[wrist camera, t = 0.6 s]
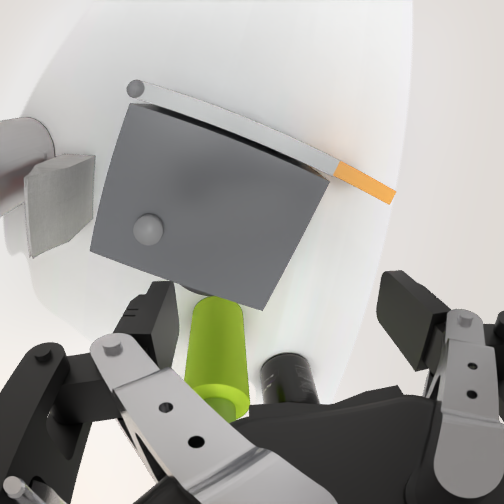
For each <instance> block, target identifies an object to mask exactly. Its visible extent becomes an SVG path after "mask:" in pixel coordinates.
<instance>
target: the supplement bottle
mask: <svg viewBox="0 0 504 504" xmlns="http://www.w3.org/2000/svg"><path fill="white" fill-rule="evenodd" d="M261 384H262V393H263V401H264V404H273V403H285V402H293V403H306V404H320V402H319V399H318V395H317V391H316V388H315V384H314V380H313V377H312V373H311V370H310V366H309V364H308V362H307V361H306V360H305V359H304V358H303V357H301V356H298V355H295V354H283V355H279V356H276V357H273V358H272V359H270V360H269V361H267V362H266V363H265V364H264V366H263V367H262V370H261Z"/></svg>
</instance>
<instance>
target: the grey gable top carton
mask: <svg viewBox="0 0 504 504" xmlns="http://www.w3.org/2000/svg"><path fill="white" fill-rule="evenodd" d="M94 167H95V156H90V155H76V154H63V155H60V156H57V157H55V158H52V159H50V160H47V161H44V162H42V163H39V164H37V165H35V166H34V168H33V169H32V171H31V172H30V173H29V174H28V175H26V176H25V177H24V198H25V216H26V229H27V239H28V248H29V256H30V257H31V255H32V257H33V258H34V257H36V256H38V255H39V254H41V253H43V252H45V251H47V250H50V249H52V248H54V247H57V246H59V245H61V244H64V243H66V242H69V241H70V240H71V239H72V238H73V237H74V236H75V235H76V234H77V233H78V232H79V231H80V230H81V229H83V228H84V227H85V226H86V225H87V224H88V223H89V222H90V221H91V220H92V219H93V186H94Z"/></svg>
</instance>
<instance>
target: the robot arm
mask: <svg viewBox="0 0 504 504" xmlns="http://www.w3.org/2000/svg"><path fill="white" fill-rule="evenodd" d="M52 158H55V156H54V147H53V142H52V140H51V137H50V134H49V133H48V131H47V130H46V128H45V127H44V126H43V125H42V124H41V123H40V122H39V121H37V120H35V119H33V118H29V117H21V118H15V119H9V120H3V121H0V217H2V216H3V215H5V214H6V213H8V212H10V211H11V210H13V209H14V208H16V207H18V206H19V205H21V204H23V203H24V202H25V198H24V177H25V176H26V175H28V174H29V173H30V172H31V171H32V169H33V168H34V166H35V165H37V164H39V163H42V162H44V161H47V160H50V159H52ZM376 312H377V318H378V321H379V323H380V324H381V325H382V327H383V328H384V329H385V331H386V332H387V333H388V335H389V336H390V337H391V339H392V340H393V341H394V343H395V344H396V345H397V347H398V348H399V349H400V351H401V352H402V354H403V355H404V356H405V358H406V359H407V361H408V362H409V363H410V365H411V366H412V367H413V369H414V370H415V372H416V371H420V370H424V369H428V368H429V373H428V375H427V378H426V383H425V387H424V392H423V396H416V395H403V393H402V392H401V390H400V388H399V387H398V385H396V386H391V387H386V388H382V389H376V390H371V391H366V392H363V393H361V394H358V395H356V396H353V397H351V398H348V399H345V400H343V401H340V402H337V403H335V404H330V405H323V404H306V403H293V402H285V403H273V404H259V405H249V417H245V418H241V419H239V420H236V421H233V422H231V423H228V422H227V421H225V420H224V419H223V418H222V417H221V416H220V415H219V414H218V413H217V412H216V411H215V410H213V409H212V408H211V407H210V406H209V405H208V404H207V403H206V402H205V401H204V400H203V399H202V398H201V397H200V396H199V395H198V394H197V393H196V392H195V391H194V390H193V389H192V388H191V387H190V386H189V385H188V384H187V383H186V382H185V381H184V380H183V379H182V378H181V377H180V376H179V375H178V374H177V373H176V372H175V371H174V370H173V369H172V368H171V366H172V362H173V357H174V353H175V348H176V344H177V340H178V336H179V317H178V310H177V303H176V295H175V287H174V283H173V281H154V282H152V284H151V286H150V288H149V290H148V292H147V294H144V295H138V296H137V297H136V298H134V299H133V300H132V301H130V303H129V305H128V307H127V308H126V310H125V312H124V314H123V317H121V319H120V321H119V323H118V325H117V326H116V328H115V330H114V332H113V333H112V334H108V335H105V336H102V337H100V338H98V339H97V340H95V341H94V342H93V343H92V345H91V347H90V353H86V354H80V355H74V356H66V353H65V351H64V348H63V347H62V346H61V345H60V344H58V343H43V344H40V345H37V346H35V347H33V348H32V349H30V350H29V351H28V352H27V353H26V354H25V356H24V357H23V359H22V360H21V362H20V363H19V365H18V366H17V368H16V369H15V371H14V372H13V374H12V375H11V377H10V378H9V380H8V381H7V383H6V385H5V386H4V388H3V389H2V391H1V393H0V504H70V503H71V499H72V494H73V490H74V486H75V482H76V478H77V474H78V470H79V467H80V463H81V459H82V455H83V452H84V449H85V445H86V442H87V438H88V435H89V431H90V428H91V425H92V422H95V421H102V420H109V419H115V418H116V420H117V422H118V424H119V425H120V427H121V429H122V430H123V432H124V434H125V435H126V437H127V438H128V440H129V442H130V443H131V445H132V446H133V448H134V449H135V451H136V452H137V454H138V455H139V457H140V458H141V460H142V462H143V463H144V465H145V466H146V468H147V470H148V472H149V473H150V475H151V476H152V478H153V479H154V481H155V482H156V485H155V486H153V487H152V488H151V489H150V490H149V491H148V492H146V493H145V494H144V495H143V496H142V497H140V498H139V499H138V500H137V501H136V502H134V503H133V504H504V424H502V423H500V421H499V416H500V417H501V418H502V420H503V421H504V311H502V312H500V313H499V314H498V317H497V320H496V323H495V324H483V322H482V320H481V318H480V317H479V316H478V315H477V314H475V313H473V312H471V311H468V310H464V309H454V310H451V309H450V308H449V307H448V306H446V305H445V304H444V303H443V302H442V301H441V300H439V299H438V298H436V296H435V295H434V294H433V293H431V292H430V291H429V290H428V289H427V288H426V287H424V286H423V285H421V284H419V283H417V282H415V281H414V280H413V279H412V278H411V277H410V276H408V275H407V274H406V273H405V272H404V271H402V270H398V271H385V272H384V273H383V274H382V277H381V283H380V290H379V296H378V302H377V311H376ZM49 412H50V413H49ZM48 414H49V415H48ZM47 416H48V418H47Z"/></svg>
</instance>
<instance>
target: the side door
mask: <svg viewBox="0 0 504 504" xmlns="http://www.w3.org/2000/svg"><path fill="white" fill-rule="evenodd" d="M127 93H128V95H129V96H130V97H132V98H135V99H139V100H142V101H145V102H148V103H151V104H155V105H158V106H161V107H164V108H167V109H170V110H173V111H176V112H179V113H182V114H184V115H187V116H190V117H193V118H196V119H199V120H201V121H204V122H207V123H209V124H212V125H215V126H217V127H220V128H223V129H225V130H228V131H230V132H233V133H235V134H238V135H240V136H243V137H245V138H248V139H250V140H253V141H255V142H258V143H260V144H262V145H265V146H267V147H269V148H272V149H274V150H276V151H279V152H281V153H283V154H285V155H288V156H290V157H292V158H294V159H297V160H299V161H301V162H303V163H305V164H307V165H310V166H312V167H314V168H316V169H318V170H320V171H322V172H324V173H326V174H328V175H330V176H335V177H337V178H339V179H341V180H343V181H345V182H347V183H349V184H351V185H353V186H355V187H357V188H359V189H361V190H363V191H365V192H366V193H368V194H370V195H372V196H374V197H376V198H378V199H380V200H381V201H383V202H385V203H387V204H389V205H390V203H391V201H392V199H393V197H394V195H395V193H396V191H394V190H393V189H391V188H389V187H387V186H386V185H384V184H382V183H380V182H379V181H377V180H375V179H373V178H372V177H370V176H368V175H366V174H364V173H362V172H361V171H359V170H357V169H355V168H353V167H351V166H349V165H347V164H346V163H344V162H342V161H340V160H338V159H336V158H334V157H332V156H330V155H328V154H326V153H324V152H322V151H320V150H318V149H316V148H314V147H312V146H310V145H308V144H305V143H303V142H301V141H299V140H297V139H295V138H293V137H290V136H288V135H286V134H284V133H281V132H279V131H277V130H275V129H272V128H270V127H268V126H265V125H263V124H261V123H258V122H256V121H254V120H251V119H249V118H246V117H244V116H241V115H239V114H236V113H234V112H231V111H229V110H226V109H223V108H221V107H218V106H215V105H213V104H210V103H207V102H205V101H202V100H199V99H196V98H193V97H190V96H187V95H185V94H182V93H179V92H176V91H172V90H169V89H166V88H163V87H160V86H157V85H153V84H150V83H147V82H143V81H140V80H134V81H132V82H130V83H129V84H128V86H127Z"/></svg>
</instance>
